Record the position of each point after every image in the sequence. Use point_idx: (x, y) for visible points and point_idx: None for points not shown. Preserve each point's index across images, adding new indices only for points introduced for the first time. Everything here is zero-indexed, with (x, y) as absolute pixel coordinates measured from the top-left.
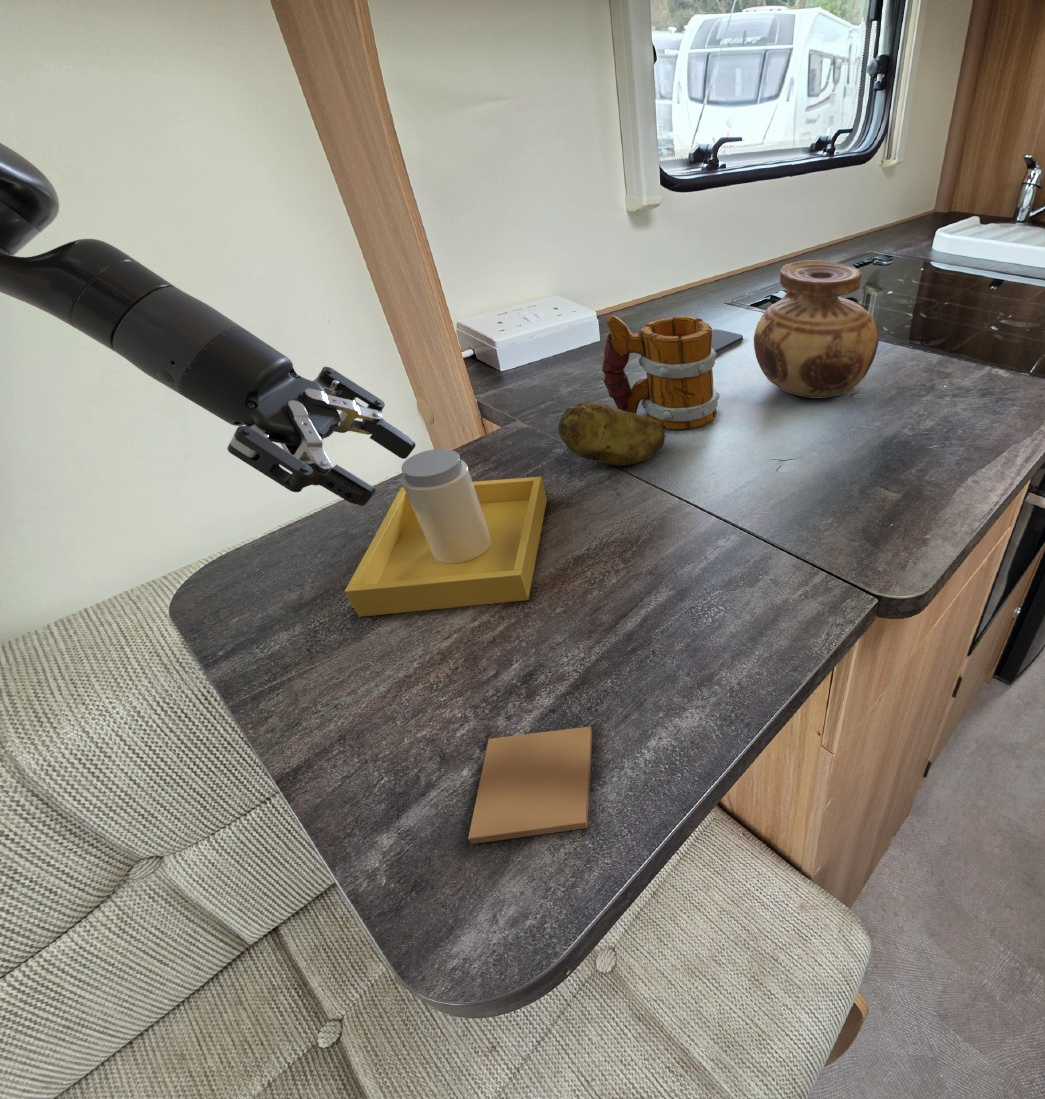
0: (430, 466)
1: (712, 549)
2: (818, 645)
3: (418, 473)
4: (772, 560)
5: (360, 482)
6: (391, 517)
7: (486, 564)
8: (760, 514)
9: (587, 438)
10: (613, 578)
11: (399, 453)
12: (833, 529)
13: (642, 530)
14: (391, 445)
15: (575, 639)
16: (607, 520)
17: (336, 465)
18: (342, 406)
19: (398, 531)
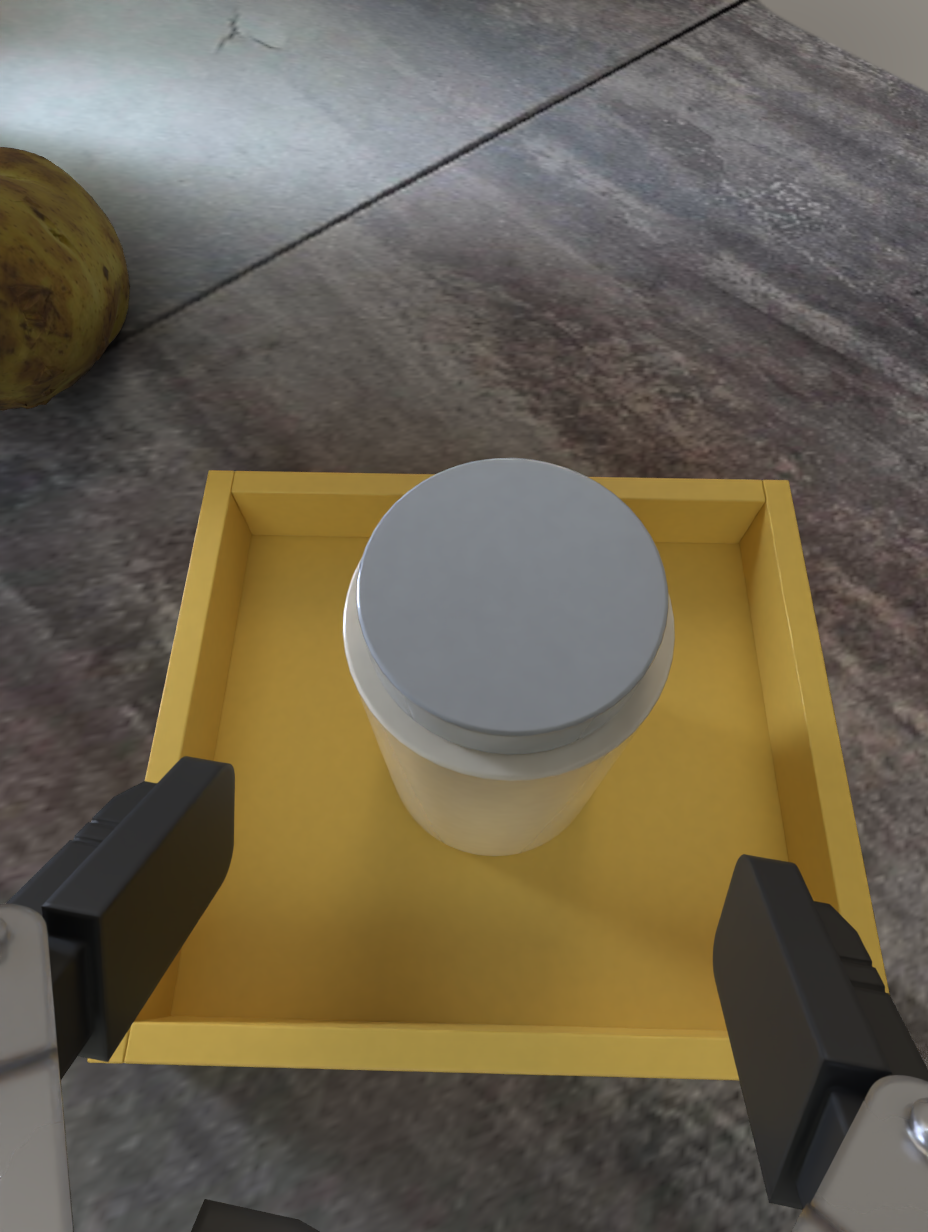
0: (564, 574)
1: (575, 180)
2: (874, 80)
3: (638, 617)
4: (627, 99)
5: (796, 907)
6: (367, 1032)
7: None
8: (454, 95)
9: (72, 284)
10: (667, 357)
11: (214, 874)
12: (535, 9)
13: (470, 297)
14: (186, 900)
15: (891, 427)
16: (403, 370)
17: (836, 1054)
18: (61, 1196)
19: (379, 1022)
